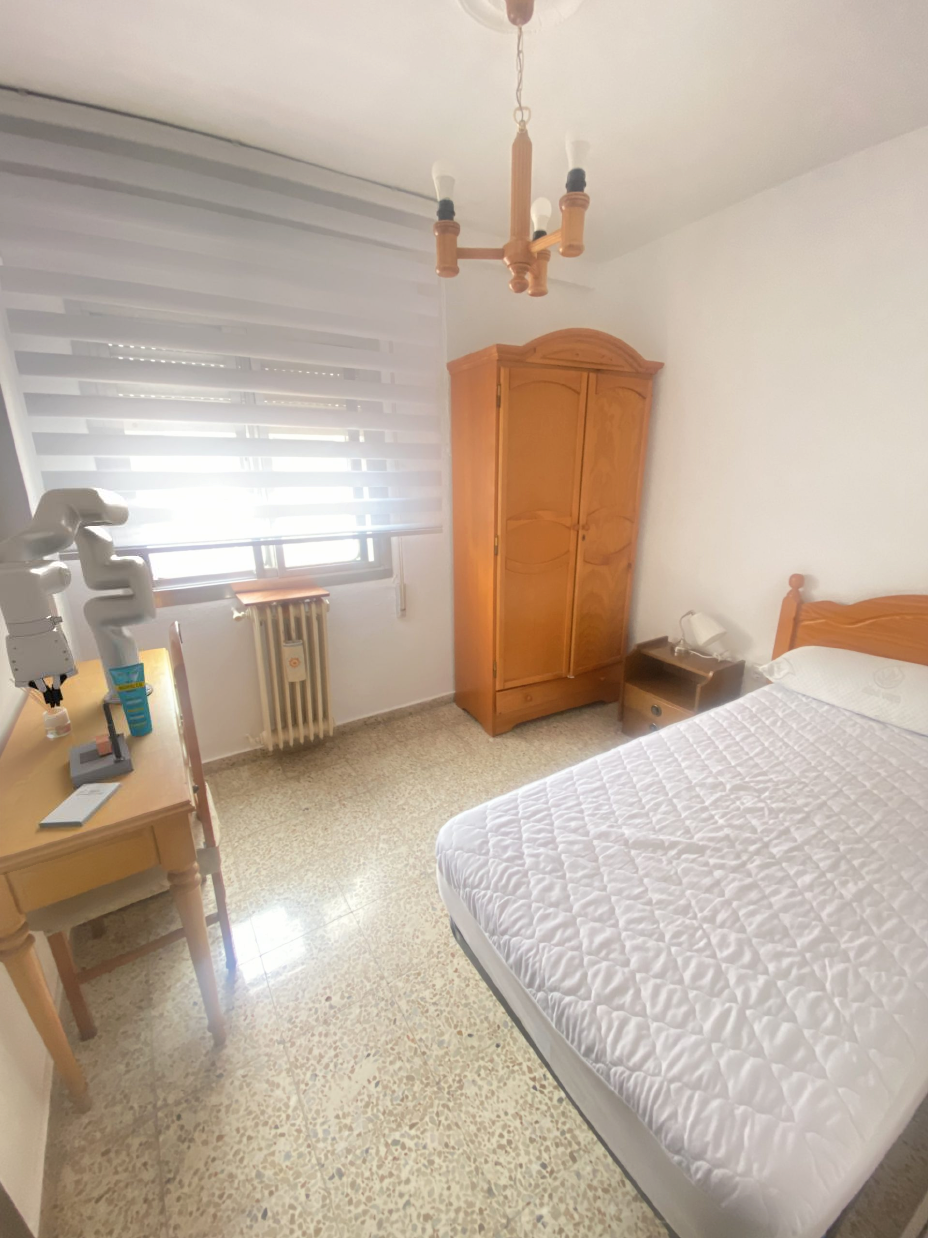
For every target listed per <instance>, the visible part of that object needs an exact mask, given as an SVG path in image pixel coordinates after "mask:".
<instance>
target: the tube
mask: <svg viewBox="0 0 928 1238" xmlns="http://www.w3.org/2000/svg"><path fill="white" fill-rule="evenodd" d="M144 665H145V664H144V662H141V663H138V664H134V665H129V666H124V667H118V668H111V669H108V670H109V672H110V674H111V676H112V679H113V681H114V684H115V686H116V689H117V692H118V695H119V698H120V701H121V703H120V704H121V707H122V709H123V712H124V716H125V719H126V723H127V726H128V730H129V733H130V736H131V737H142V736H145V735H149V734H150V733H151V732H152V731H153V724H152V717H151V712H150V706H149V699H148V695H147V692H146V685H145V683H146V678H145V666H144Z"/></svg>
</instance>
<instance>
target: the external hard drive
mask: <svg viewBox="0 0 928 1238" xmlns="http://www.w3.org/2000/svg"><path fill="white" fill-rule="evenodd" d="M121 784H122V783H121V782H103V783H101V782H100V783H99V782H95V783H92V784H83V785H82V786H81V787H79V788H76V789H75V790H74V792H72V794H70V795H69V796H68V797H67V798H66V799H64V800H63V801H62V802H61V803H60V804H59V805H58V806H56V808H55V809H54V810H52V811H51V812H50V813H49V814H48V815H47V816H45V817H44V818H43V820H41V821H40V822H39V823H38V826H39V828H40V829H42V828H44V829H45V828H58V827H60V828H61V827H62V828H64V827H83V826H84V825H85V824H86V823H87V822H88V821H89V820H90V819H91V818H92V816H94V814H96V812H98V811H99V809H101V808H102V806H104V804H106V802H108V800H109V799H111V797H113V795H114V794H115V793H117V791H118V790H119V789H120V788H121V787H122V785H121Z"/></svg>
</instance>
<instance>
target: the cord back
mask: <svg viewBox="0 0 928 1238" xmlns="http://www.w3.org/2000/svg"><path fill="white" fill-rule="evenodd" d="M102 708H103V712H104V716H105V719H106V723H107V726H108V725H109V724H113V725H114V728H115V732H116V733H117V730H116V726H115V724H114V719H113V715H112V712H111V708H110V703H107V702H104V703H102Z"/></svg>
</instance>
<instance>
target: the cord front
mask: <svg viewBox="0 0 928 1238" xmlns="http://www.w3.org/2000/svg"><path fill="white" fill-rule="evenodd" d="M114 726H115V724H114V725H113V724H109V725H108V724H107V731H108V736H110V739H111V742H112V746H113V750H114V753H115V757H116V758H121V757H122V754H121V750H120V747H119V743H118V739H117V735H116V734H117V731H116V732H115V730H116V727H115V728H114Z"/></svg>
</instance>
